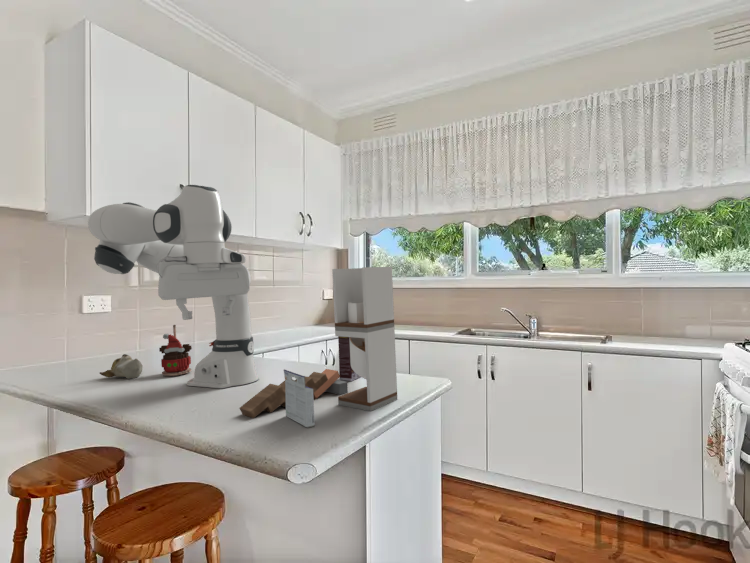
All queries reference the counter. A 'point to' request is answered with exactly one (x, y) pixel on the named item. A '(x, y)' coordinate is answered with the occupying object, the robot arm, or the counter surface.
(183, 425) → the counter surface
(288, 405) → the ink box
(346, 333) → the white tower
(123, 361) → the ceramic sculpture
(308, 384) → the domino
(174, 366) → the santa mouse candy apple
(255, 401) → the domino
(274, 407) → the domino
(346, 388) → the block
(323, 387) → the end domino
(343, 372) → the supplement box
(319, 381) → the domino
